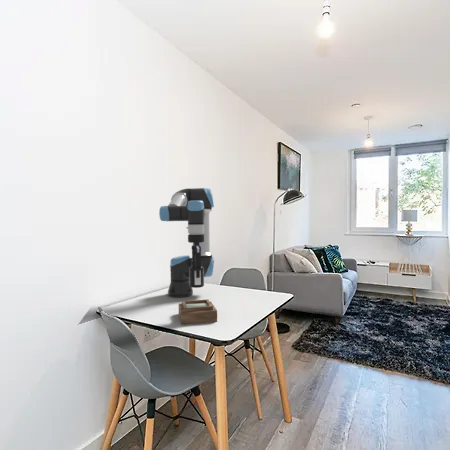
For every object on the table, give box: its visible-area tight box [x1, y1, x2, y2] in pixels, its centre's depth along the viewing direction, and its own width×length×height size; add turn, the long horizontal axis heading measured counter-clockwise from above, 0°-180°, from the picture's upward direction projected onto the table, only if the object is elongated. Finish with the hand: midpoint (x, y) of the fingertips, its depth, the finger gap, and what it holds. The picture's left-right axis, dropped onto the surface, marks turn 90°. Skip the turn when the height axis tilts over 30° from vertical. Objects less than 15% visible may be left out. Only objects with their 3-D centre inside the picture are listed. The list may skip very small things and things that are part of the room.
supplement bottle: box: [189, 260, 205, 289], centre depth 147 cm, size 7×7×12 cm
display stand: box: [178, 299, 218, 326], centre depth 148 cm, size 16×16×6 cm
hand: (196, 282), depth 147 cm, fingers closed on supplement bottle, 7 cm apart
